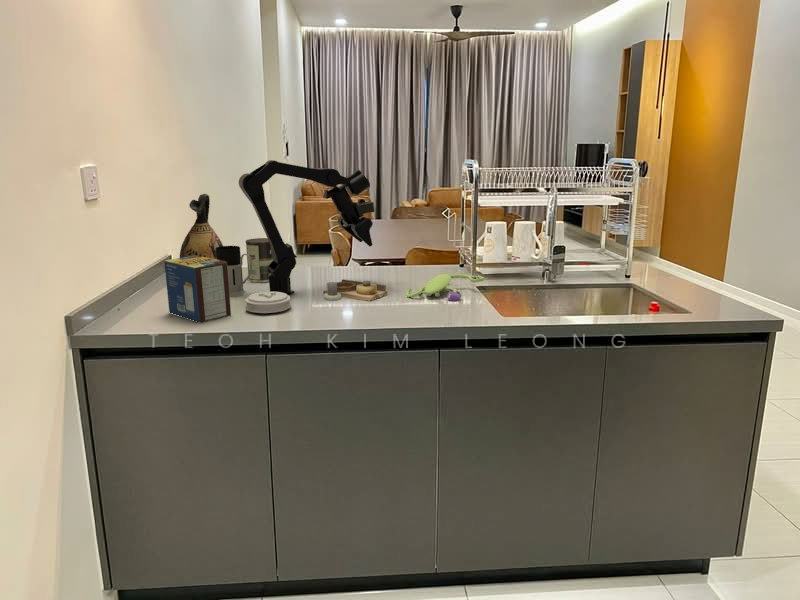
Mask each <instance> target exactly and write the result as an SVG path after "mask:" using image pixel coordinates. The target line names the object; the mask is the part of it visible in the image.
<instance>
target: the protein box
mask: <svg viewBox="0 0 800 600" xmlns="http://www.w3.org/2000/svg"><path fill="white" fill-rule="evenodd" d="M163 262H164V272H165V281H166V292H167V304H168V313H169V312H170V313H173V314H176V315H179V316H182V317H185V318H188V319H191V320H194V321H197V322H202V323H205V322H209V321H213V320H216V319H220V318H225V317H229V316H231V315H232V310H231V297H230V295H229V282H228V269H227V261H222V260H216V259H211V258H206V257H201V256H190V257H184V258H179V257H178V258H171V259H165V260H164V261H163ZM170 313H169V314H170ZM173 314H172V315H173ZM176 315H175V316H176ZM228 315H229V316H228ZM179 316H178V317H179ZM224 316H225V317H224ZM182 317H181V318H182ZM185 318H184V319H185ZM188 319H187V320H188ZM191 320H190V321H191ZM208 320H209V321H208ZM194 321H193V322H194ZM204 321H205V322H204ZM197 322H196V323H197Z"/></svg>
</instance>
